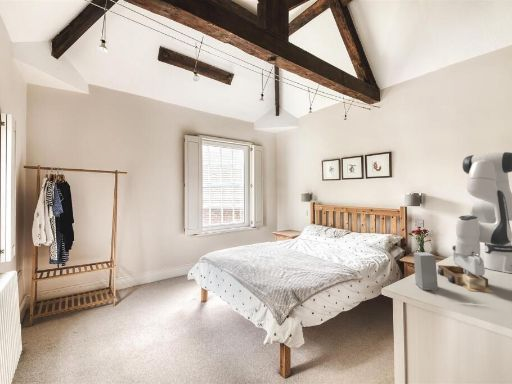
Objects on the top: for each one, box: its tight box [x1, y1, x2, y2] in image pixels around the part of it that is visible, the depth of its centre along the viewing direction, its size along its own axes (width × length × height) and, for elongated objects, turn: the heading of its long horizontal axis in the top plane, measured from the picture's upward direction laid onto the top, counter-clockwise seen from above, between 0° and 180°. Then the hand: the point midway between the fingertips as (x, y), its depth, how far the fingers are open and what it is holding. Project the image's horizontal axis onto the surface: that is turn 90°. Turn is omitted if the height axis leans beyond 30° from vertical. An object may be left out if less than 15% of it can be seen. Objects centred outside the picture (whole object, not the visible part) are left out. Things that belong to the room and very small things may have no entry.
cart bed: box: [437, 264, 489, 289], centre depth 129 cm, size 15×21×4 cm
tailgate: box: [461, 285, 495, 294], centre depth 116 cm, size 9×1×6 cm
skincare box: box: [413, 251, 439, 291], centre depth 120 cm, size 8×7×16 cm
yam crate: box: [463, 274, 485, 289], centre depth 118 cm, size 6×6×5 cm
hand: (468, 279), depth 122 cm, fingers closed
